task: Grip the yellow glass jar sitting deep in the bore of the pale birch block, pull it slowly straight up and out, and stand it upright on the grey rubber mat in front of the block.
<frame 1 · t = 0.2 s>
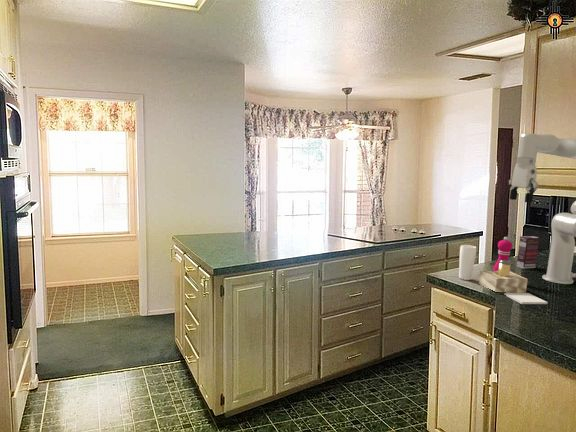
hand: (520, 200, 209), 36 cm above the worktop, tool pointing down, fingers open, 9 cm apart
supplement box: (525, 267, 243), on the worktop
pepper mill: (500, 280, 214), on the worktop
yellow glass jar: (503, 274, 199), in the bore block
mat: (525, 299, 187), on the worktop
white cylinder: (464, 279, 212), on the worktop
bore block: (501, 288, 200), on the worktop
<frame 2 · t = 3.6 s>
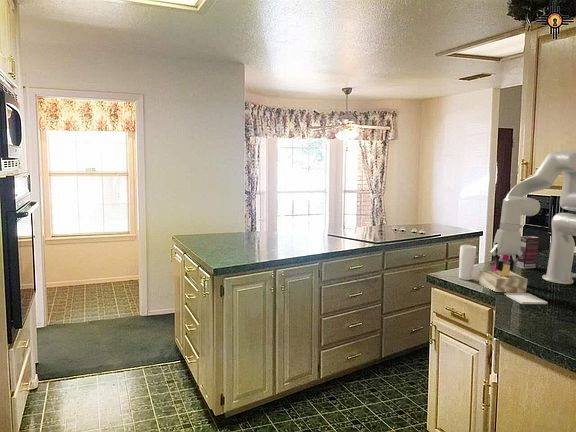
hand: (504, 269, 199), 8 cm above the worktop, tool pointing down, fingers closed on yellow glass jar, 4 cm apart
yellow glass jar: (503, 274, 199), in the bore block, touching gripper
everything else where it was.
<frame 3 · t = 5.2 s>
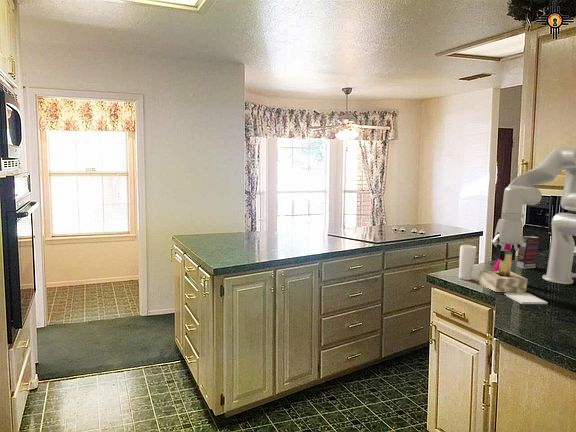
hand: (506, 259, 198), 13 cm above the worktop, tool pointing down, fingers closed on yellow glass jar, 4 cm apart
yellow glass jar: (505, 264, 199), point 10 cm above the worktop, touching gripper
everything else where it was.
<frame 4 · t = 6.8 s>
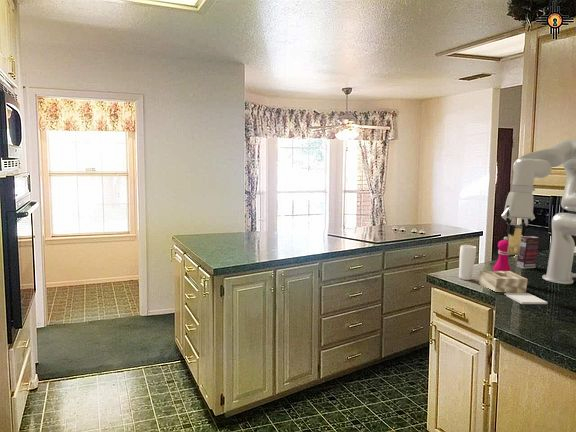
hand: (515, 233, 192), 24 cm above the worktop, tool pointing down, fingers closed on yellow glass jar, 4 cm apart
yellow glass jar: (515, 239, 193), point 22 cm above the worktop, touching gripper
everything else where it was.
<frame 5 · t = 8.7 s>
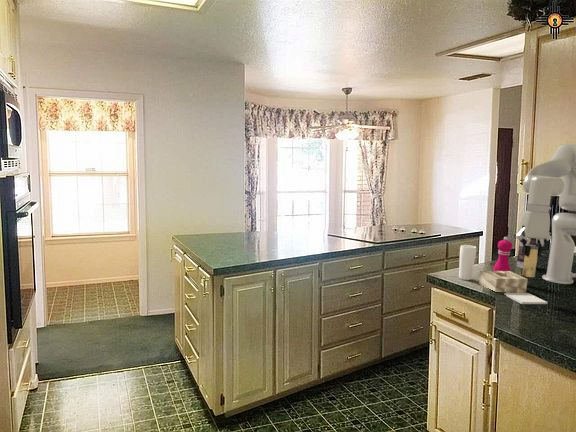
hand: (531, 254, 184), 18 cm above the worktop, tool pointing down, fingers closed on yellow glass jar, 4 cm apart
yellow glass jar: (530, 260, 184), point 16 cm above the worktop, touching gripper
everything else where it was.
when the fingers open (10 cm above the worktop, at t = 10.4 s): yellow glass jar drops 1 cm, resting on mat.
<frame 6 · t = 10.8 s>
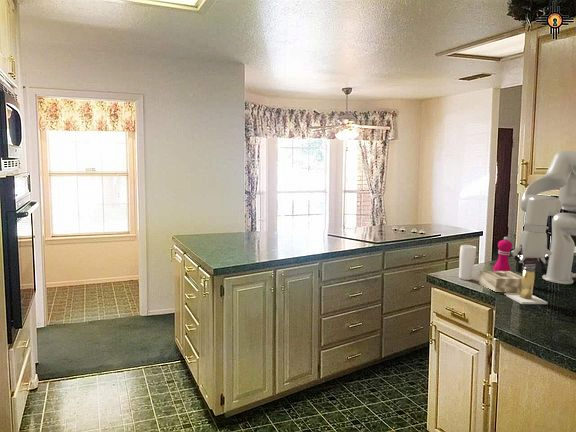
hand: (528, 272, 185), 11 cm above the worktop, tool pointing down, fingers open, 8 cm apart
yellow glass jar: (527, 282, 186), on the mat, point 7 cm above the worktop
everything else where it was.
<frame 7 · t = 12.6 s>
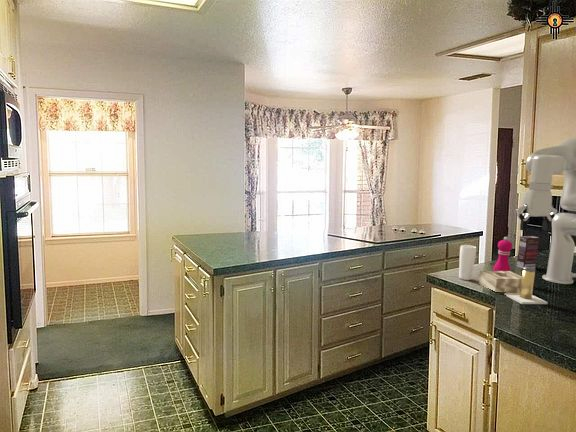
hand: (534, 230, 187), 27 cm above the worktop, tool pointing down, fingers open, 9 cm apart
nothing on the worktop moved.
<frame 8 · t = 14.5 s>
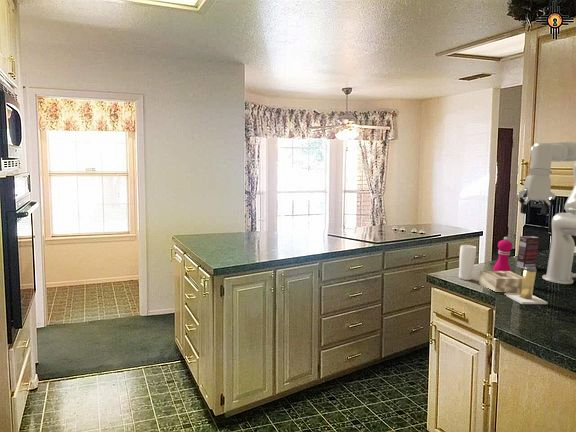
hand: (533, 213, 198), 32 cm above the worktop, tool pointing down, fingers open, 9 cm apart
nothing on the worktop moved.
at the end: yellow glass jar inside the target area on the mat (0.1 cm from its centre), point 6.8 cm above the mat's base; yellow glass jar tilted 1°; the gripper is holding nothing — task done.
